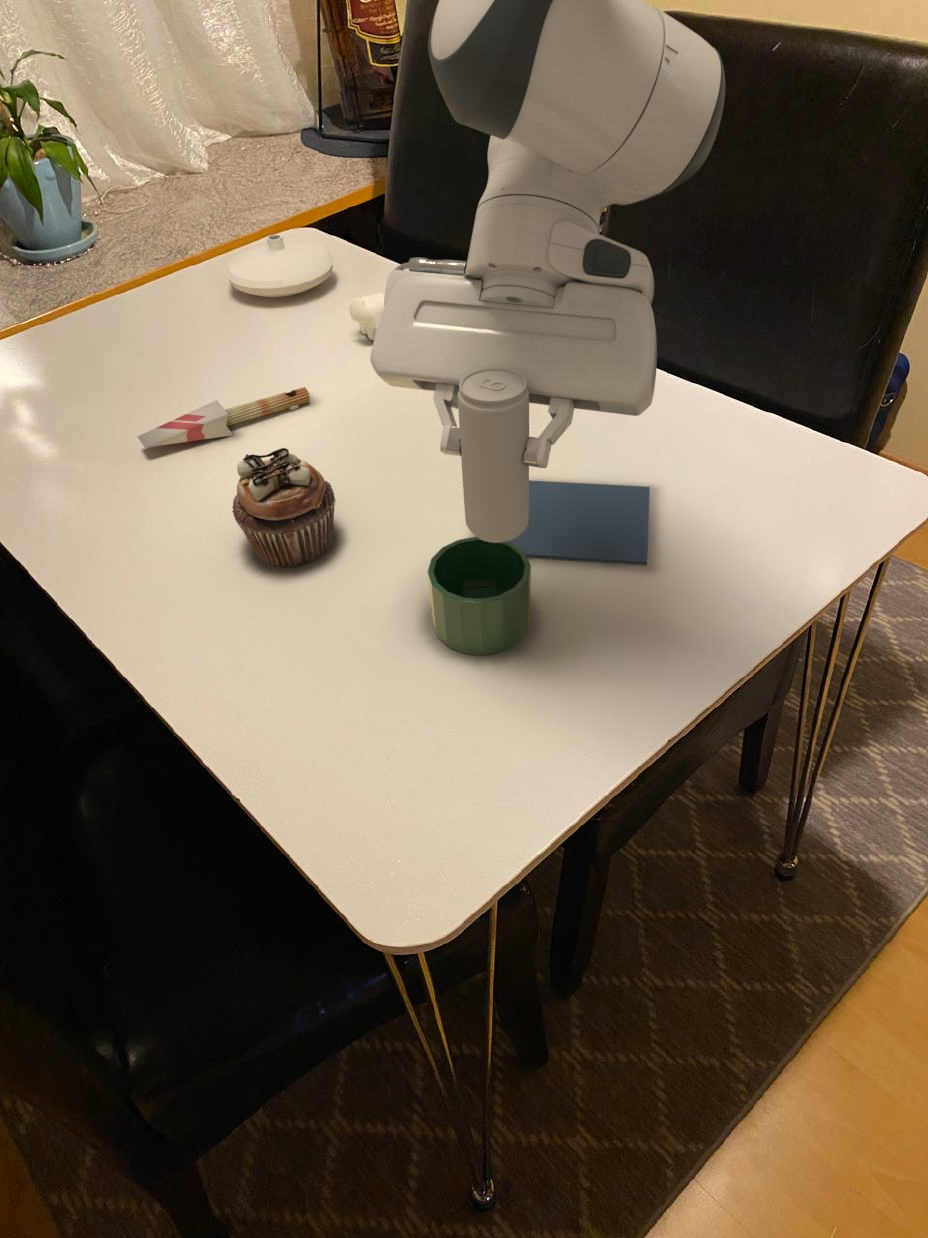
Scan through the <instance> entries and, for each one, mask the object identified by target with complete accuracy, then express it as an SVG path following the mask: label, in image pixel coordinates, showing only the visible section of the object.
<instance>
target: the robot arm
mask: <svg viewBox="0 0 928 1238" xmlns="http://www.w3.org/2000/svg"><path fill="white" fill-rule="evenodd" d="M436 4H437V5H436V6H435V10H434V13H433V16H432V19H431V23H430V28H429V33H428V40H427V50H428V51H427V52H428V56H429V62H430V65H431V68H432V73H433V75H434V78H435V82H436V84H437V87H438V89H439V91H440V94H441V96H442V98H443V100H444V102H445V105H446V107H447V108H448V110H449V112H450V115H451V116H452V118H453V120H454V121H455V122H456V123H458V124H460V125H463V126H465V127H468V128H470V129H473V130H476V131H479V132H482V133H484V134H486V135H489V136H490V138H489V142H488V148H487V166H488V167H487V169H488V177H487V184H486V185H485V186H486V187H485V189H484V192H483V193H482V195H481V197H480V199H479V202H478V204H477V208H476V211H475V217H474V223H473V227H472V233H471V237H470V238H471V239H470V243H469V250H468V255H467V260H457V259H456V260H455V259H429V258H427V257H421V256H419V257H418V256H417V257H411V258H409V259H408V262H404V263H401V264H399V265H397V266H396V267H395V268H394V269H392V271H390V273H389V274H388V277H387V281H386V286H385V291H384V295H385V296H384V305H385V307H384V310H383V313H382V316H381V318H380V321H379V325H378V328H377V331H376V335H375V338H374V340H373V343H372V347H371V351H370V359H369V360H370V363H371V364H370V365H371V367H372V368H373V370H374V371H375V373H376V375H377V376H378V377H379V378H380V379H381V380H382V381H383V382H385V383H386V384H387V385H388V386H390V387H395V388H404V389H411V390H413V389H414V390H420V391H427V392H428V391H429V392H434V394H433V398H432V399H433V402H434V405H435V408H436V411H437V414H438V417H439V421H440V423H441V425H442V426H443V428H442V434H441V439H440V444H439V447H440V452H441V453H443V454H444V455H448V456H454V457H461V443H460V427H459V426H458V425H457V421H456V419H455V415H454V412H453V410H452V409H455V410H456V409H457V410H458V392H459V389H460V388H459V384H460V381H461V379H462V378H463V377H464V376H465V375H467V374H468V373H470V372H472V371H475V370H478V369H482V368H489V367H503V368H508V369H512V370H515V371H517V372H519V373H521V374H522V375H523V376H524V377H525V378H526V381H527V387H528V391H529V404H534V405H543V406H548V414H549V416H550V417H551V420H550V422H549V423H548V424H547V426H546V427H545V428H544V429H543V430H542V432H541V433H540V435H539V436H538V437H536V436H529V437H528V438H527V442H526V445H525V446H526V448H527V450H526V451H525V452H524V457H523V462H524V463H525V464H526V466H529V467H534V468H539V469H547V468H548V466H549V461H550V455H551V450H552V446H554V445H555V444H556V442H557V441H558V440H559V439H560V438H561V437H562V435H563V434H564V433H565V432H566V431H567V430H568V428H569V427H570V426H571V425H572V423H573V418H574V417H573V416H574V412H575V409H576V410H583V411H584V410H585V411H592V412H600V413H609V414H616V415H625V416H631V417H632V416H633V417H637V416H638V417H639V416H640V415H642V414H643V413H645V411H646V410H648V409H649V407H650V406H652V403H653V399H654V394H655V388H656V378H657V365H658V364H657V363H658V340H657V339H658V338H657V327H656V321H655V315H654V311H653V308H652V304H653V300H654V295H655V279H654V273H653V270H652V266H651V263H650V261H649V258H648V256H646V254H645V253H643V252H642V251H640V250H637V249H636V248H633V247H631V246H628V245H626V244H624V243H620V242H618V241H617V240H613V239H611V238H609V237H607V236H604V235H602V234H600V233H601V232H600V227H601V226H600V225H601V224H600V222H601V217H602V214H603V213H604V211H605V210H606V208H608V207H609V206H611V205H616V206H621V207H623V206H631V205H635V204H638V203H642V202H644V201H648V200H650V199H653V198H656V197H659V196H661V195H664V194H666V193H668V192H670V191H672V190H674V189H676V188H678V187H679V186H681V185H682V184H684V183H685V182H686V181H688V180H689V179H691V178H692V177H693V176H694V175H696V174H697V173H698V172H699V170H700V169H701V168H702V166H703V165H704V164H705V162H706V160H707V158H708V156H709V155H710V153H711V150H712V148H713V145H714V142H715V141H716V138H717V134H718V132H719V128H720V124H721V121H722V117H723V111H724V106H725V100H726V99H725V97H726V74H725V68H724V64H723V59H722V56H721V54H720V52H719V51H718V49H717V48H716V47H715V46H713V45H711V44H710V43H709V42H708V41H707V40H706V39H704V38H703V37H702V36H701V35H699V34H698V33H697V32H695V31H693V30H692V29H690V28H689V27H687V26H686V25H684V24H683V23H682V22H680V21H678V20H677V19H675V18H674V17H672V16H670V15H669V14H667V13H666V12H664V11H663V10H661V9H659V8H658V7H656V6H655V5H650V4H649V3H647V2H646V1H644V0H438V2H437V3H436Z"/></svg>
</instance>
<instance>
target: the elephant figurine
mask: <svg viewBox="0 0 928 1238" xmlns="http://www.w3.org/2000/svg"><path fill="white" fill-rule="evenodd" d="M384 296H385V293H383V292H376V293H373V294H370V295H366V296H363V297H358V296H357V297H356V296H355V297H354V298H352V300H351V301H350V304H349V315H350V317H351V319H352V320H354V321H355V322H356V323H359V324H358V325H359V327H360V330H361V333H362V334H363V335H367V338H368V339H369V340H370V341H374V338H375V335H376V331H377V328H378V325H379V321H380V318H381V316H382V313H383V310H384V307H385V305H384Z"/></svg>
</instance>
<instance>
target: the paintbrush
mask: <svg viewBox="0 0 928 1238" xmlns="http://www.w3.org/2000/svg"><path fill="white" fill-rule="evenodd" d="M310 401H311V396H310V392H309V390H308V389H307V387H305V386H303V387H299V388H296V389H292V390H290V391H287V392H282V393H278V394H274V395H271V396H267V397H264V398H261V399H257V400H253V401H250V402H247V403H243V404H239V405H236V406H232V407H227V408H224V407H223V406H222V405H221V403H220V402H219V401H218V399H215V400H213V401H211V402H209V403H207V404H205V405H203V406H201V407H199V408H196V409H194V410H191V411H189V412H187V413H185V414H183V415H180V416H179V417H177V418H175V419H171V420H169V421H168V422H166V423H163V424H161V425H158V426H156V427H155V428H153V429H150V430H148V431H146V432H144V433H142V434H139V435H137V436H136V437H137V438H138V440H139V441H140V443H141V445H142V446H143V448H150V447H157V446H159V447H160V446H165V445H174V444H180V443H187V442H194V441H202V440H209V439H216V438H223V437H224V438H225V437H231V436H234V434H233V433H232V431H231V430H230V429H229V427H228V426H231V425H234V424H235V425H236V424H237V423H241V422H245V421H248V420H251V419H256V418H259V417H263V416H266V415H269V414H273V413H275V412H280V411H283V410H286V409H290V408H292V407H294V406H300V405H303V404H307V403H310Z"/></svg>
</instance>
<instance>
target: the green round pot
mask: <svg viewBox="0 0 928 1238" xmlns="http://www.w3.org/2000/svg"><path fill="white" fill-rule="evenodd" d="M427 568H428V569H427V579H428V589H429V598H430V599H429V600H430V609H431V619H432V622H433V628H434V632H435V633H436V635H437V637H438V638H439V640H440V641H441V642H442V643H443V644H445V645H446V646H447V647H449V648H451V649H452V650H453V651H457V652H459V653H462V654H467V655H473V656H474V655H475V656H481V655H482V656H484V655H485V656H487V655H493V654H498V653H501V652H504V651H507V650H508V649H510V648H512V647H514V646H515V645H517V644H518V643H520V642H521V641H522V640H523V638H524V637H525V636H526V634H527V633H528V631H529V629H530V625H531V614H532V565H531V563H530V560H529V557H527V556H526V553H525V552H523V551H522V550H521V549H520V548H518V547H517V546H516V545H515V544H513V543H511V542H508V541H506V542H499V543H494V542H487V541H483V540H481V539H480V538H478V537H476V536H472V537H466V538H460V539H458V540H455V541H453V542H451V543H449V544H446V545H445V546H443V547H441V548H440V549H439V550H438V552H436V553H435V554H434V555H433V556H432V558H431V559H430V562H429V566H428V567H427Z"/></svg>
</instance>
